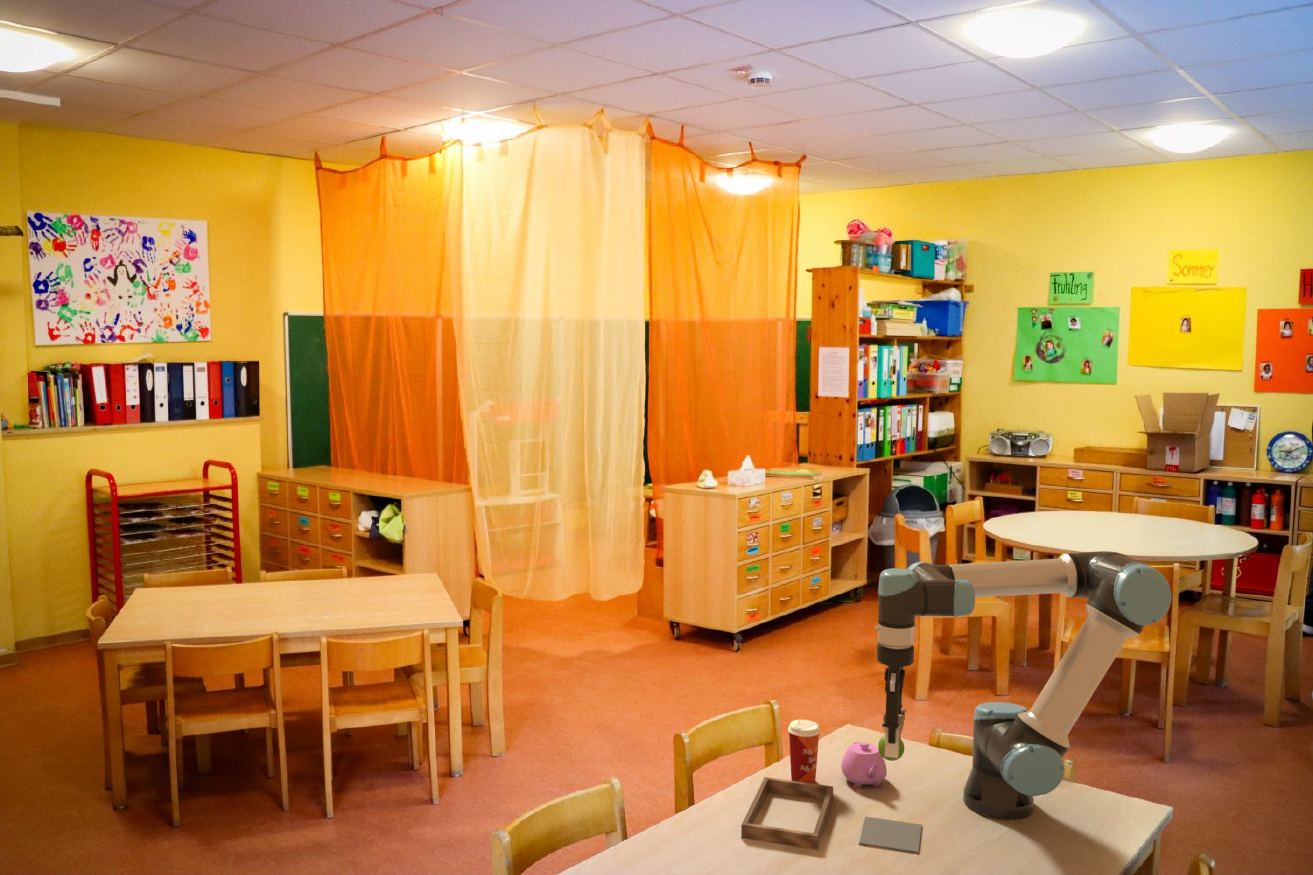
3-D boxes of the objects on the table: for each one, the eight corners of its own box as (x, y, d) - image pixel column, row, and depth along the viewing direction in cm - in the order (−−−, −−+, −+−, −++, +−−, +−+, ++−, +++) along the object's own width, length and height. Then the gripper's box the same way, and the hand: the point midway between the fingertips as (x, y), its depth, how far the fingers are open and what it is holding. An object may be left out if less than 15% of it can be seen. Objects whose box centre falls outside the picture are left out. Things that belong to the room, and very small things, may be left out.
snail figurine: (892, 768, 206) (894, 712, 205) (872, 757, 212) (873, 702, 211) (912, 763, 209) (914, 708, 207) (892, 752, 214) (893, 698, 213)
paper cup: (809, 791, 232) (810, 733, 231) (781, 782, 237) (781, 725, 236) (825, 779, 239) (826, 723, 237) (797, 771, 243) (798, 715, 242)
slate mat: (921, 826, 216) (921, 824, 216) (918, 853, 205) (918, 851, 205) (865, 817, 220) (865, 816, 220) (859, 844, 208) (859, 842, 208)
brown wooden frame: (833, 798, 229) (833, 786, 228) (817, 849, 206) (817, 836, 206) (764, 789, 234) (764, 776, 233) (741, 837, 211) (741, 824, 211)
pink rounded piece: (874, 767, 245) (875, 731, 245) (897, 795, 231) (898, 756, 230) (833, 770, 244) (834, 733, 243) (854, 798, 229) (855, 759, 228)
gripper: (881, 629, 218) (878, 732, 220) (872, 655, 200) (870, 766, 203) (916, 632, 216) (913, 736, 218) (911, 658, 198) (908, 771, 200)
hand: (892, 750), depth 210 cm, fingers closed on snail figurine, 5 cm apart
